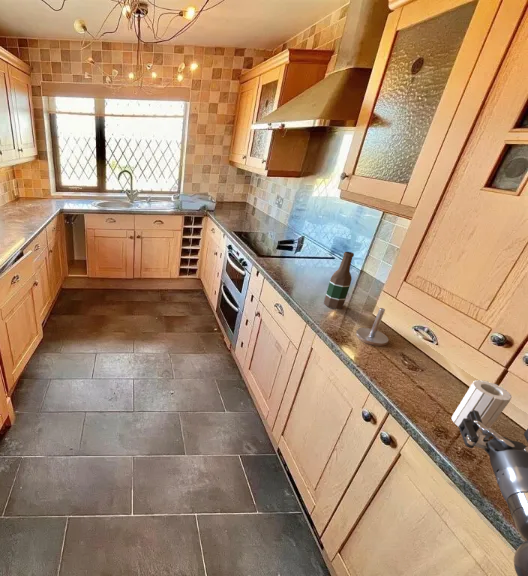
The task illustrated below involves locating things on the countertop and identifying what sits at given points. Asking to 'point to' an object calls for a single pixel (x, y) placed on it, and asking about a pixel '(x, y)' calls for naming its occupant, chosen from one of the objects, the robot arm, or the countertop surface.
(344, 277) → the beer bottle
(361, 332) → the towel stand
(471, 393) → the paper roll
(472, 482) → the countertop surface
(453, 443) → the countertop surface
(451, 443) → the countertop surface
